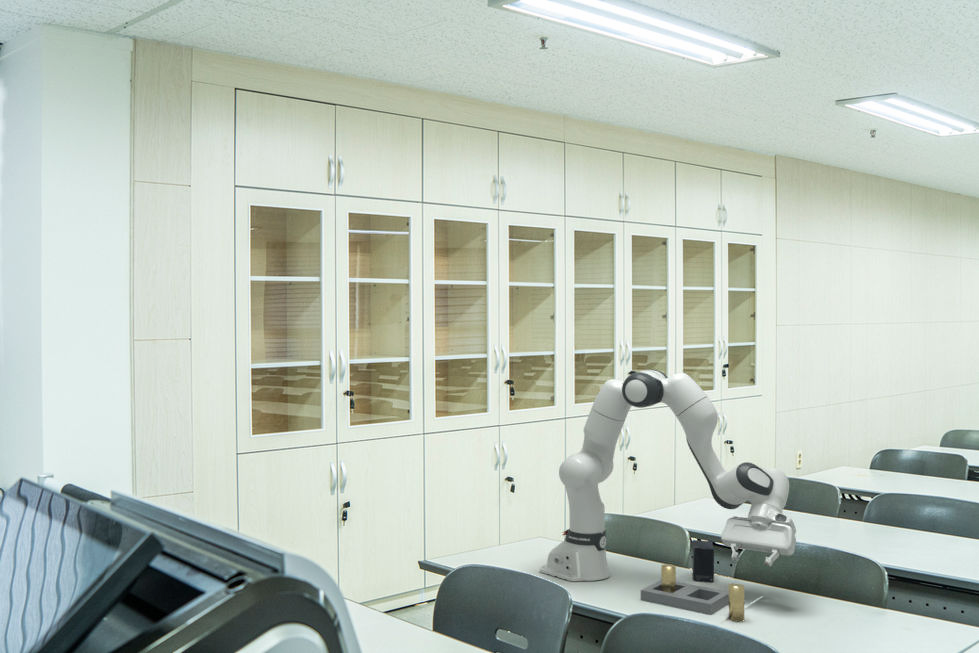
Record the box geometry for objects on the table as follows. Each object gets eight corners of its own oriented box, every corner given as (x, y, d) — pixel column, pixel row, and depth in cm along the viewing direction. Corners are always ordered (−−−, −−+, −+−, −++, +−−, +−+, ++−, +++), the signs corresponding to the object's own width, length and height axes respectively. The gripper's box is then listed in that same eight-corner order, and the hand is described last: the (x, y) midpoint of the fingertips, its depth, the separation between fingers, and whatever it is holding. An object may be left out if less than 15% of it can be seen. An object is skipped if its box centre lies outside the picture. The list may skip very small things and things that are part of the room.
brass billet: (726, 619, 229) (726, 585, 229) (732, 616, 232) (732, 582, 232) (740, 622, 227) (740, 588, 227) (746, 619, 230) (746, 585, 230)
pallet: (640, 602, 244) (640, 590, 244) (663, 591, 255) (663, 579, 255) (710, 617, 231) (710, 604, 231) (731, 604, 242) (731, 592, 242)
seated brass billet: (659, 597, 246) (658, 566, 246) (665, 594, 249) (665, 563, 249) (671, 600, 243) (671, 568, 243) (678, 597, 246) (678, 565, 247)
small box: (714, 582, 264) (714, 548, 264) (693, 581, 265) (692, 547, 265) (713, 573, 274) (712, 540, 274) (692, 572, 275) (691, 539, 275)
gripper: (725, 509, 250) (711, 549, 242) (796, 518, 237) (784, 561, 230) (731, 522, 253) (718, 562, 246) (802, 531, 241) (790, 574, 233)
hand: (750, 562), depth 237 cm, fingers open, 8 cm apart
